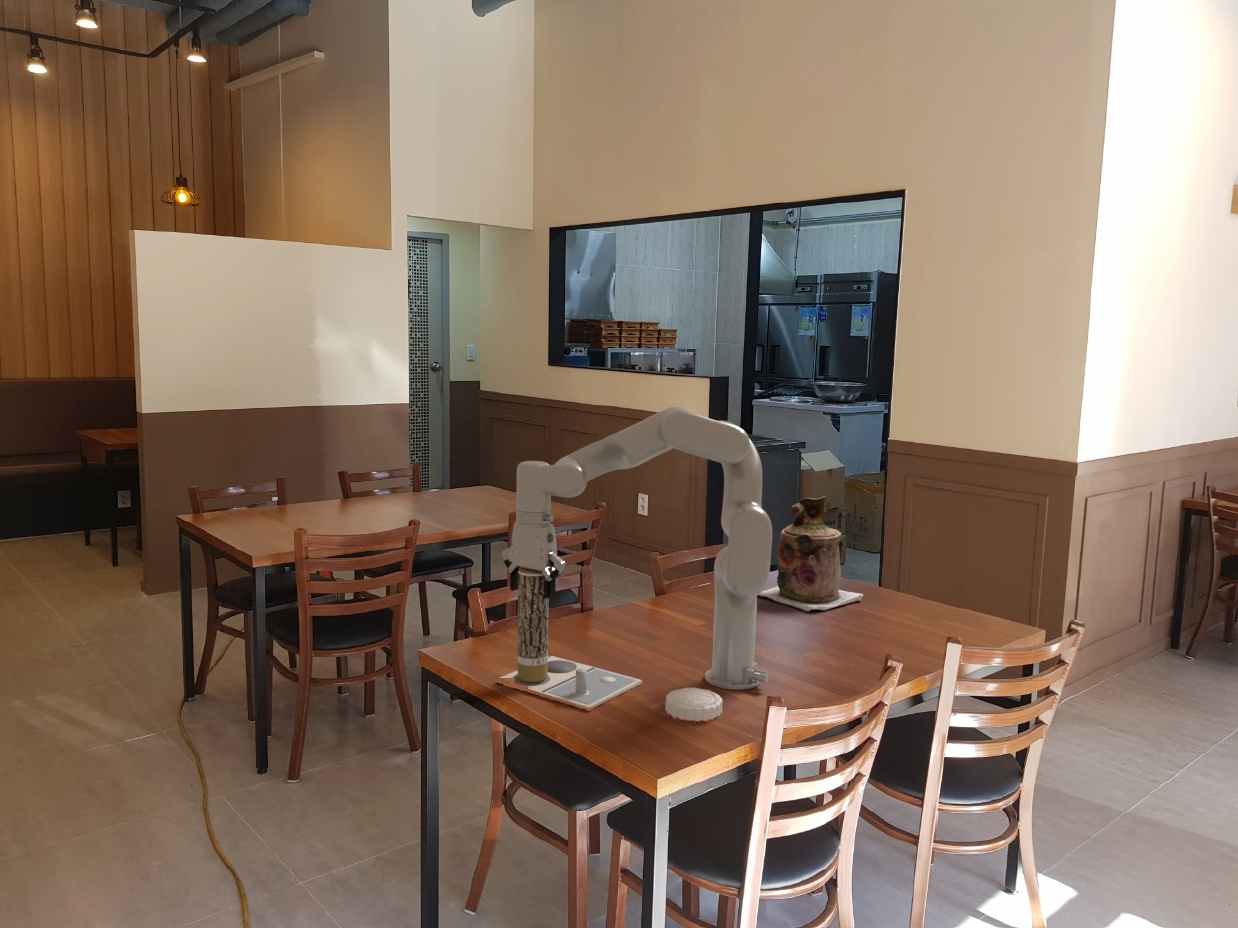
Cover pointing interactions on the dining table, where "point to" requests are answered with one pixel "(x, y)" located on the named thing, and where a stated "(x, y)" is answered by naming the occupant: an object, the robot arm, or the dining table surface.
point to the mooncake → (693, 704)
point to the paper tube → (532, 626)
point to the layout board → (569, 675)
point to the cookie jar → (809, 561)
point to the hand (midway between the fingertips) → (532, 593)
